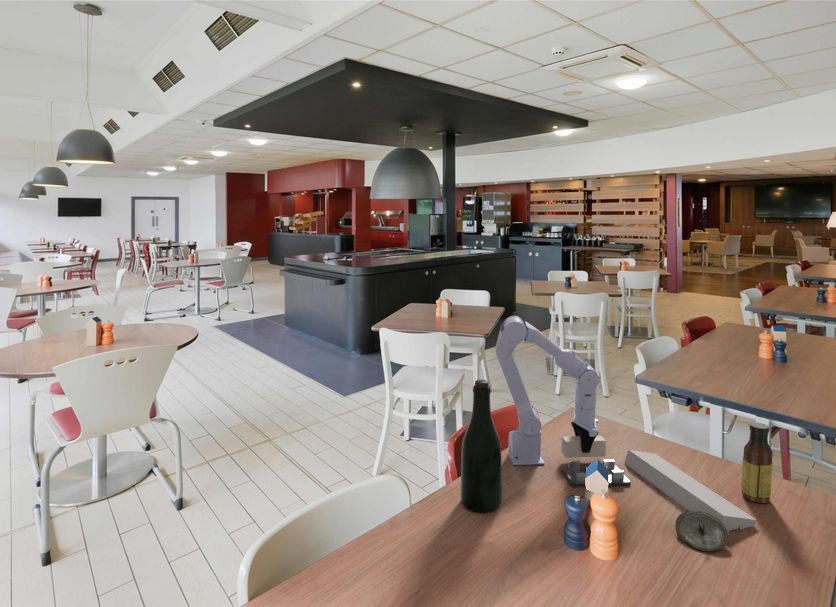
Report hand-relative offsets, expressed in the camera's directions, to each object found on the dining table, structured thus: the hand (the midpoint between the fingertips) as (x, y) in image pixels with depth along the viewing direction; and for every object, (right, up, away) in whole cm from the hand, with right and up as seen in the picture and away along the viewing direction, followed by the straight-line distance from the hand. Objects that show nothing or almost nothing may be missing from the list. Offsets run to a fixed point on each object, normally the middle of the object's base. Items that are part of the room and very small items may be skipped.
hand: (583, 448), depth 145 cm
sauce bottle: (+38, -7, -20) cm, 43 cm away
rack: (0, -6, -9) cm, 10 cm away
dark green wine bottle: (-33, -8, -20) cm, 40 cm away
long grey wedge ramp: (+21, -7, -16) cm, 27 cm away
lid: (+14, -10, -35) cm, 40 cm away
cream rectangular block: (0, -2, 0) cm, 2 cm away
